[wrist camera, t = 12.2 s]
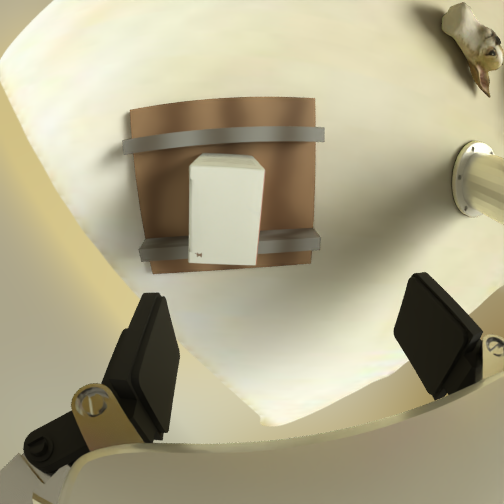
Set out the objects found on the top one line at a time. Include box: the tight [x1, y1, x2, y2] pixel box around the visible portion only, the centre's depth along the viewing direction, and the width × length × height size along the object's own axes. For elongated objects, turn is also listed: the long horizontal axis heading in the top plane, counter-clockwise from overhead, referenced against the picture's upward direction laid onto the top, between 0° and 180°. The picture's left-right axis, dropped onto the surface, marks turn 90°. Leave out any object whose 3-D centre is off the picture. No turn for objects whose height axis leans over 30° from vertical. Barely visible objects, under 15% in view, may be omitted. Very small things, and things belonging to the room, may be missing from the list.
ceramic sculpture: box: [442, 2, 504, 98], centre depth 20 cm, size 11×9×15 cm
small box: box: [188, 153, 265, 265], centre depth 25 cm, size 8×6×10 cm
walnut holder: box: [122, 97, 324, 274], centre depth 29 cm, size 20×20×4 cm
